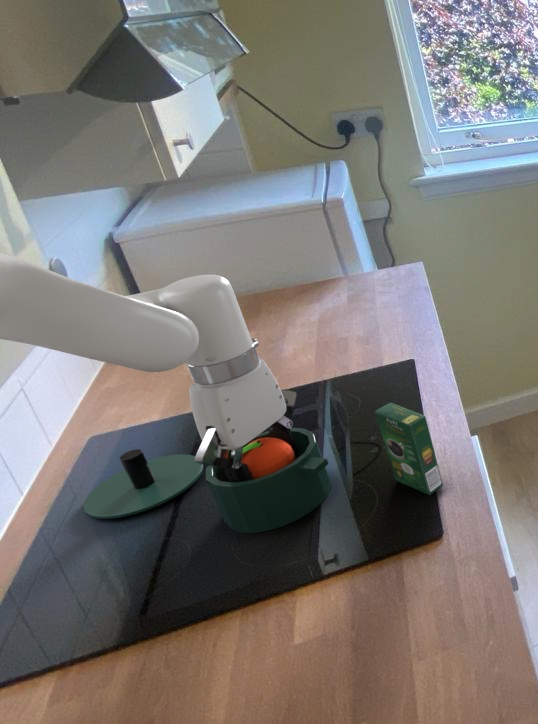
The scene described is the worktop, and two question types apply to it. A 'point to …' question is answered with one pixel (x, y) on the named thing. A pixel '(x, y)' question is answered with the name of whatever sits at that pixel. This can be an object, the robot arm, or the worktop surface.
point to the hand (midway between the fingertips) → (266, 468)
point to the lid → (142, 484)
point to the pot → (273, 489)
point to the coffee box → (409, 448)
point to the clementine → (267, 456)
